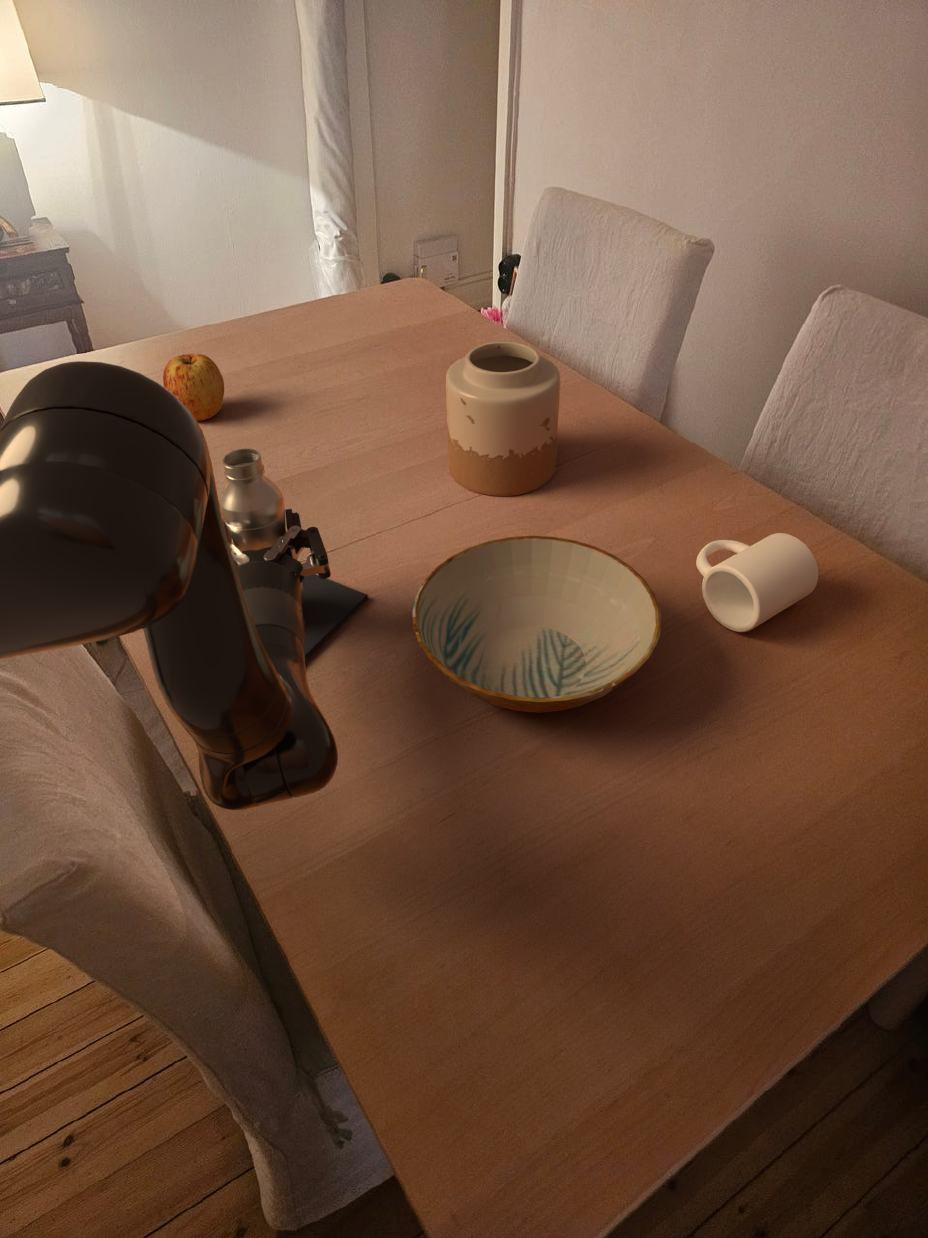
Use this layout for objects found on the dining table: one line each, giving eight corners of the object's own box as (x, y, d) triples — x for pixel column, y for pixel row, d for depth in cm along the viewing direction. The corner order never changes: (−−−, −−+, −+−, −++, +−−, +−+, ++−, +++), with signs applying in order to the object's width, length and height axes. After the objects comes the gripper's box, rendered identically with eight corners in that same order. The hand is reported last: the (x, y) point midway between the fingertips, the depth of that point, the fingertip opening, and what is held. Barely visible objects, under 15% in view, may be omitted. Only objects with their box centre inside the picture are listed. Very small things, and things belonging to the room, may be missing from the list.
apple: (196, 397, 136) (180, 339, 130) (242, 406, 134) (229, 347, 127) (162, 423, 130) (144, 364, 124) (210, 433, 128) (194, 372, 121)
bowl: (702, 687, 86) (715, 632, 80) (502, 798, 76) (502, 743, 71) (556, 563, 101) (560, 509, 96) (376, 641, 92) (369, 587, 87)
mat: (280, 685, 87) (279, 680, 87) (185, 641, 93) (183, 636, 92) (368, 599, 97) (367, 594, 97) (277, 563, 103) (276, 558, 102)
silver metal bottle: (317, 614, 93) (287, 460, 80) (262, 638, 91) (221, 482, 77) (292, 585, 97) (260, 434, 84) (239, 607, 95) (197, 454, 81)
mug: (809, 609, 94) (827, 554, 89) (750, 646, 90) (766, 590, 84) (727, 558, 101) (740, 504, 96) (670, 589, 97) (680, 535, 92)
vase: (427, 466, 119) (420, 356, 108) (504, 429, 126) (505, 322, 115) (499, 510, 110) (499, 396, 99) (577, 468, 117) (586, 357, 106)
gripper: (334, 577, 75) (319, 481, 87) (172, 602, 73) (180, 500, 85) (344, 637, 80) (329, 538, 92) (193, 662, 78) (198, 558, 90)
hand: (257, 520), depth 88 cm, fingers closed on silver metal bottle, 6 cm apart
